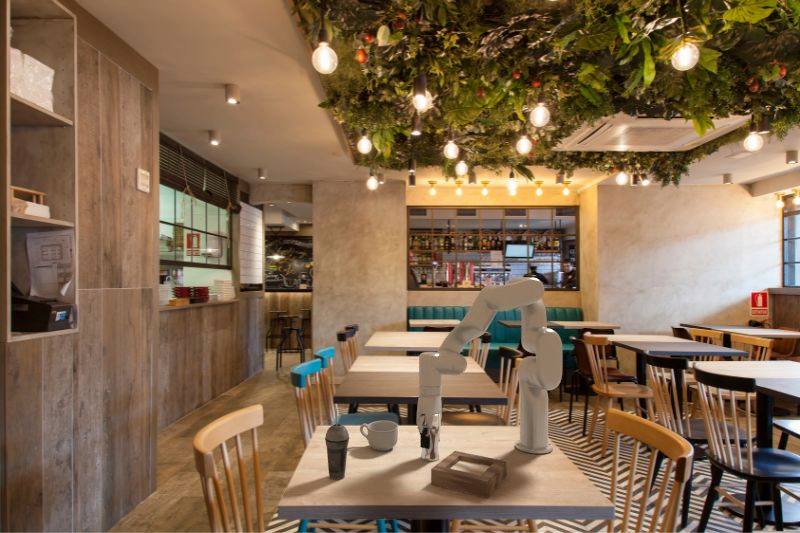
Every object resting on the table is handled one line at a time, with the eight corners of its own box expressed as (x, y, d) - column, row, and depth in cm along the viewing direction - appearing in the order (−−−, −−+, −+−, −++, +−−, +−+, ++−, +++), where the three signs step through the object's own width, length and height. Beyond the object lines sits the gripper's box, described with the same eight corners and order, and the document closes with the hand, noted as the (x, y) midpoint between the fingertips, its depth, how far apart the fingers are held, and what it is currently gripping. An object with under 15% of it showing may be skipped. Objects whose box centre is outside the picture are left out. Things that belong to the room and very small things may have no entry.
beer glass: (439, 462, 160) (439, 415, 160) (417, 460, 161) (418, 414, 161) (441, 454, 167) (441, 410, 167) (421, 453, 168) (421, 408, 168)
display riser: (454, 465, 158) (454, 450, 158) (507, 476, 149) (507, 461, 149) (431, 484, 143) (431, 468, 143) (487, 498, 135) (487, 481, 135)
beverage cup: (329, 484, 143) (329, 414, 143) (321, 474, 150) (321, 408, 150) (352, 479, 146) (353, 411, 147) (344, 470, 153) (344, 405, 153)
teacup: (403, 446, 175) (403, 423, 175) (386, 456, 165) (386, 431, 166) (371, 439, 182) (371, 417, 182) (353, 448, 173) (353, 424, 173)
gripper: (431, 383, 174) (431, 435, 173) (407, 394, 159) (407, 450, 158) (451, 386, 170) (451, 439, 170) (428, 397, 155) (428, 455, 155)
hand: (430, 444), depth 164 cm, fingers closed on beer glass, 6 cm apart
